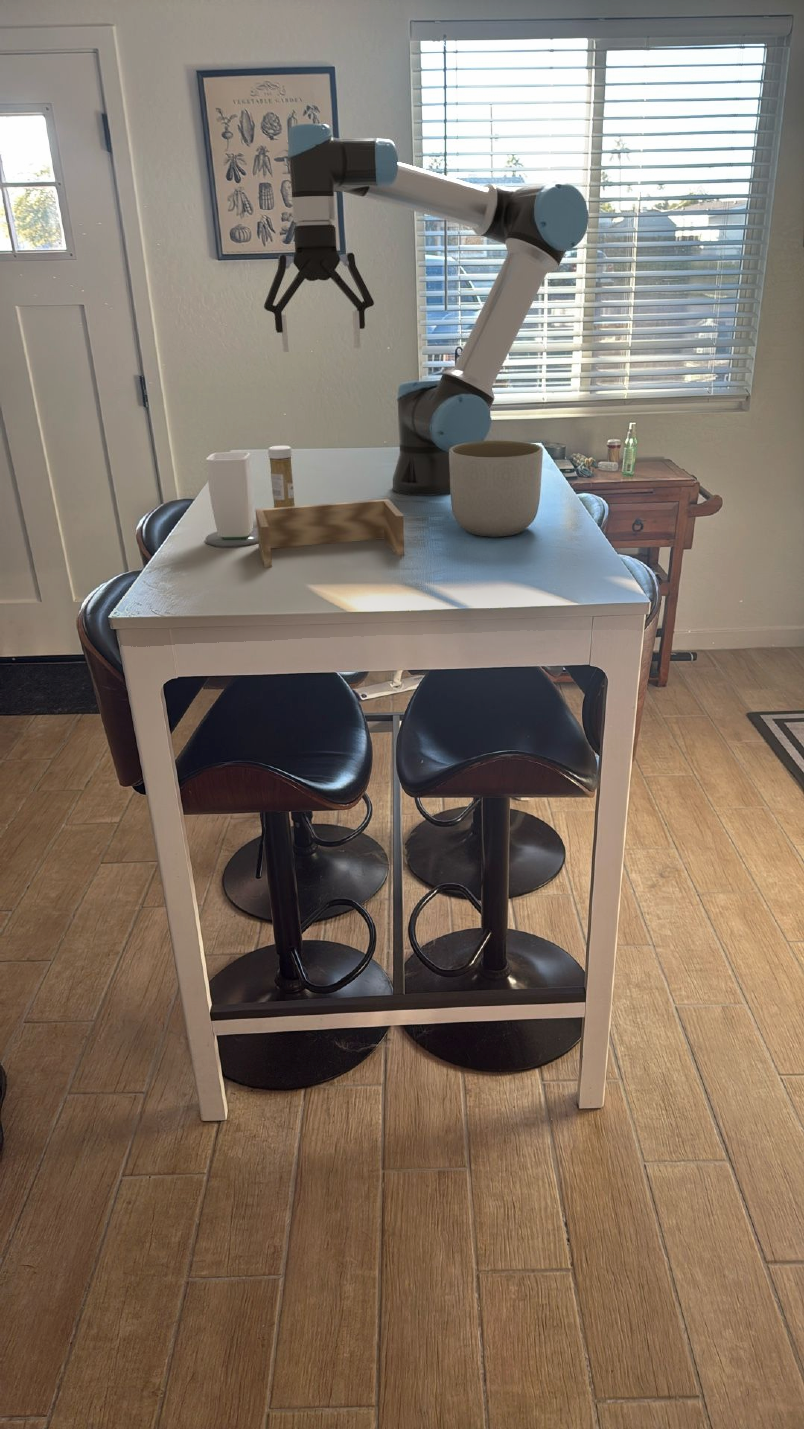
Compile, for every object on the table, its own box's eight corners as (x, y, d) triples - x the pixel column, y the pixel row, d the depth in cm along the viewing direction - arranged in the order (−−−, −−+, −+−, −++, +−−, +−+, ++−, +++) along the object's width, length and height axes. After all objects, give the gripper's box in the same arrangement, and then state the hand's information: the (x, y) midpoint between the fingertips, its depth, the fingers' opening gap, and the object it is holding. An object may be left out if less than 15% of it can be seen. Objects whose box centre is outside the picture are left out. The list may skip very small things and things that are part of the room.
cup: (212, 541, 184) (203, 460, 177) (221, 531, 190) (212, 452, 184) (251, 541, 183) (243, 459, 177) (258, 530, 190) (251, 451, 183)
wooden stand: (389, 536, 186) (388, 499, 183) (404, 555, 174) (403, 515, 171) (258, 547, 181) (255, 509, 178) (264, 567, 170) (261, 527, 167)
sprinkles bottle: (299, 514, 203) (294, 447, 197) (279, 517, 201) (274, 450, 195) (289, 509, 207) (284, 443, 201) (269, 513, 204) (264, 446, 199)
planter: (548, 522, 192) (551, 441, 185) (529, 545, 177) (531, 459, 171) (463, 517, 197) (463, 438, 191) (438, 539, 183) (437, 455, 176)
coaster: (262, 529, 193) (262, 526, 192) (267, 544, 183) (267, 541, 183) (205, 534, 191) (204, 531, 190) (207, 549, 181) (206, 546, 181)
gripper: (378, 222, 184) (382, 344, 193) (243, 226, 179) (253, 351, 189) (386, 221, 177) (390, 348, 186) (245, 225, 173) (257, 354, 182)
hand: (321, 349), depth 187 cm, fingers open, 13 cm apart
